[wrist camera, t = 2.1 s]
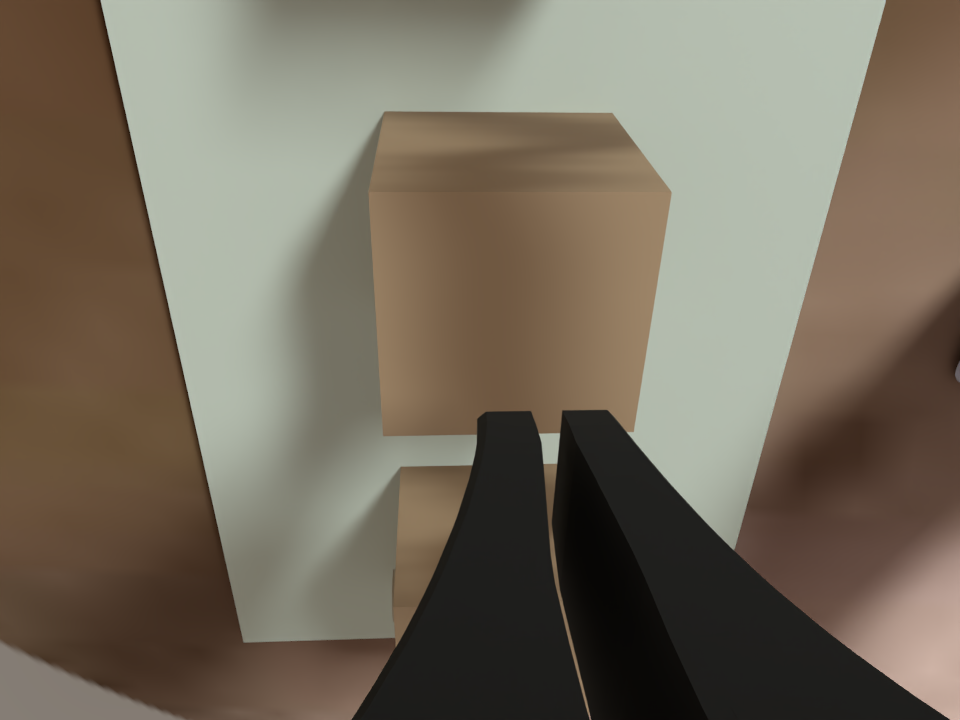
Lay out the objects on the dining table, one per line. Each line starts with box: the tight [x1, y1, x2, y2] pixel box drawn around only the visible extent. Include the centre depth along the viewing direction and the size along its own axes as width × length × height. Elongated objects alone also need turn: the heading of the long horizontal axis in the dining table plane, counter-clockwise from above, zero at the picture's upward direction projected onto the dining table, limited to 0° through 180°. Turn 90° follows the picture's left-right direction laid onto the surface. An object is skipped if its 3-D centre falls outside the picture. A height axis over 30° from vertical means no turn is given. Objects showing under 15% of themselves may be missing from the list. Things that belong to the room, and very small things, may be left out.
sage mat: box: [101, 0, 886, 643], centre depth 18 cm, size 16×30×1 cm, turn 179°
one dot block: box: [392, 464, 589, 716], centre depth 21 cm, size 5×5×5 cm
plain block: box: [368, 111, 672, 436], centre depth 16 cm, size 5×5×5 cm
